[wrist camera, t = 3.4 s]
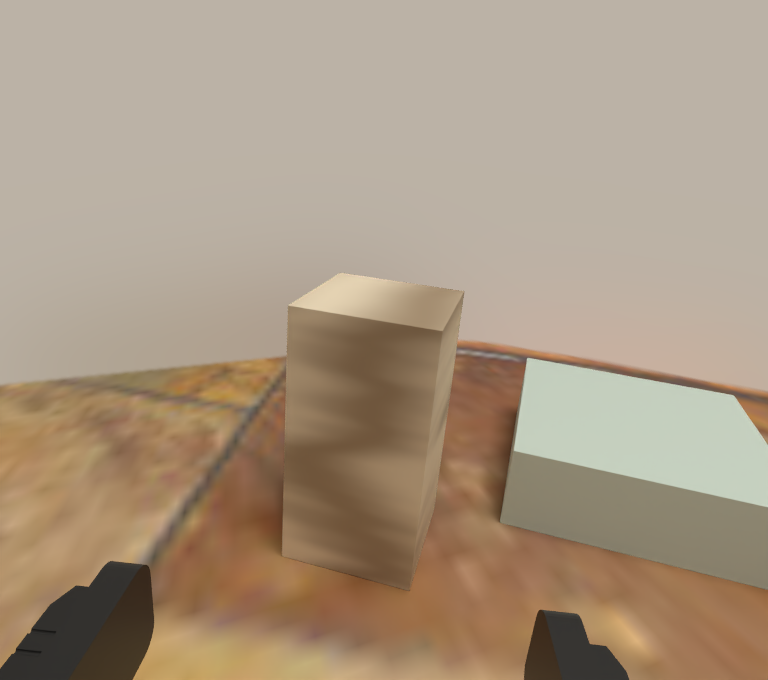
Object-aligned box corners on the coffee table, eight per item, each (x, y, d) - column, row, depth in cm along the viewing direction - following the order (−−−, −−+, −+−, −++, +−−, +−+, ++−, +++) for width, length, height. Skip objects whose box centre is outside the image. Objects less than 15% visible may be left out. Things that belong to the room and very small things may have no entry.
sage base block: (498, 529, 24) (513, 450, 23) (516, 417, 34) (527, 357, 33) (781, 602, 22) (818, 518, 20) (712, 458, 32) (733, 395, 30)
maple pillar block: (281, 556, 21) (287, 305, 18) (328, 483, 26) (340, 272, 22) (409, 590, 20) (442, 331, 17) (434, 508, 25) (464, 291, 21)
